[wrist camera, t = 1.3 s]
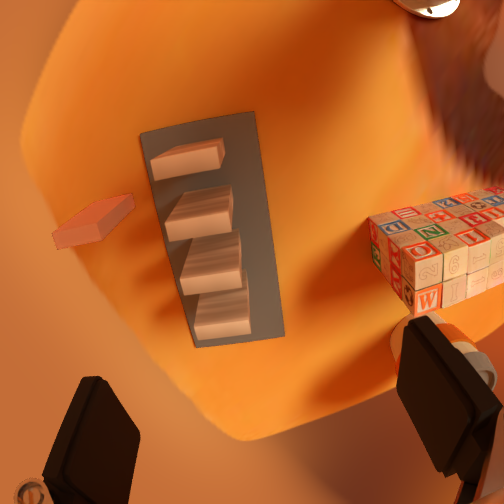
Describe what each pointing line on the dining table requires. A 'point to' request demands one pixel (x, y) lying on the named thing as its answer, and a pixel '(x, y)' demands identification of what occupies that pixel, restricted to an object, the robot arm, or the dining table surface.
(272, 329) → the slate mat
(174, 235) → the cream domino
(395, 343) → the reusable coffee cup
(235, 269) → the cream domino
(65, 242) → the terracotta domino
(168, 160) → the cream domino
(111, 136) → the dining table surface
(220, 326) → the cream domino
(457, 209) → the stack of blocks
